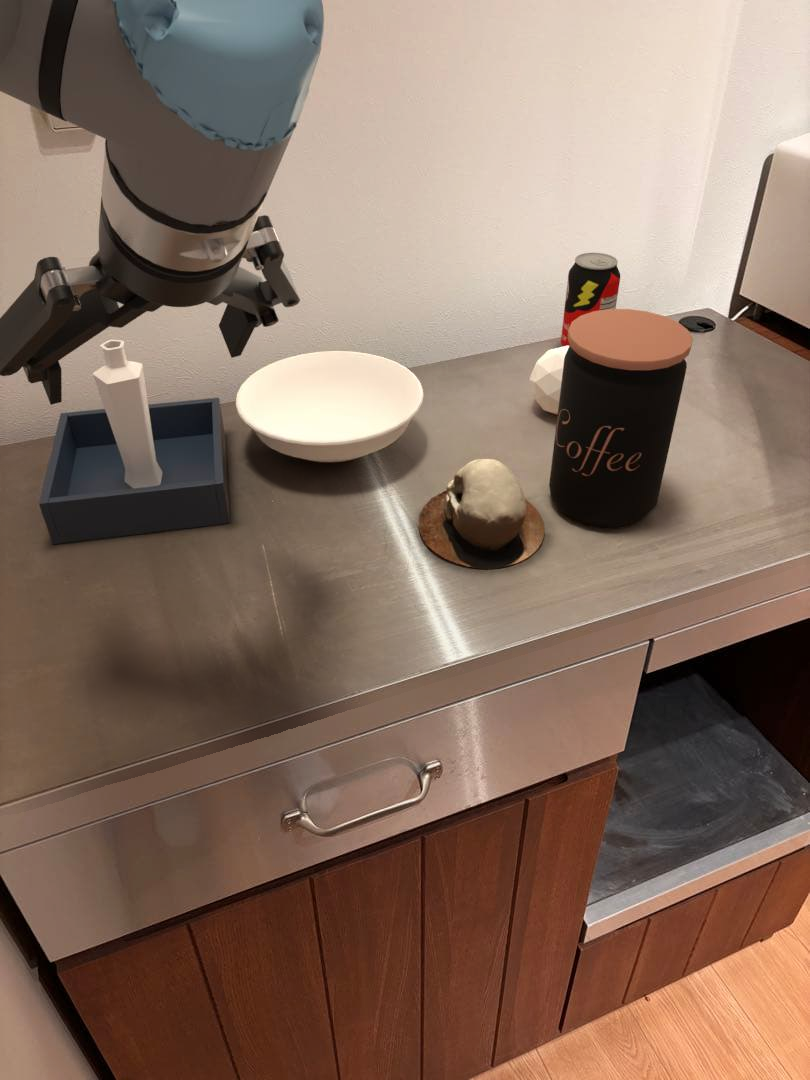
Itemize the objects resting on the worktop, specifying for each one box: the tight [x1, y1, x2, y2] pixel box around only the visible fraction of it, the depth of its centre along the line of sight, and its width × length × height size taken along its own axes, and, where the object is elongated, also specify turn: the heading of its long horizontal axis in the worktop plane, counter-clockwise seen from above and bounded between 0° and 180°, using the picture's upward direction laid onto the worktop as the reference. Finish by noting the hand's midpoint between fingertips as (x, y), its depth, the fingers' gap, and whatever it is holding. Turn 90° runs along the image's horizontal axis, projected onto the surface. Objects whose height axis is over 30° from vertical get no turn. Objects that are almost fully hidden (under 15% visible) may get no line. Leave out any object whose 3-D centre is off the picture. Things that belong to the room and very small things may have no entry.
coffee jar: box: [548, 308, 693, 530], centre depth 80 cm, size 11×11×18 cm
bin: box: [38, 397, 231, 545], centre depth 87 cm, size 17×17×5 cm
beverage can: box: [560, 252, 621, 347], centre depth 108 cm, size 6×6×12 cm
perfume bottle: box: [92, 339, 162, 488], centre depth 83 cm, size 5×4×15 cm
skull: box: [417, 458, 546, 570], centre depth 81 cm, size 12×10×10 cm
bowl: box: [235, 350, 425, 463], centre depth 92 cm, size 20×20×6 cm
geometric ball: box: [528, 346, 569, 416], centre depth 97 cm, size 8×8×8 cm
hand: (143, 362), depth 63 cm, fingers open, 13 cm apart
